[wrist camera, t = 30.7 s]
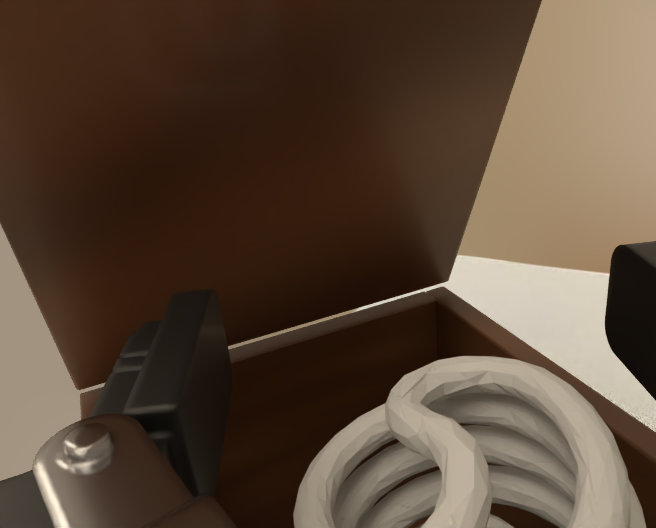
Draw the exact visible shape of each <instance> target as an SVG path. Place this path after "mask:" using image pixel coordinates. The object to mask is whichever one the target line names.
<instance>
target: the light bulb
mask: <svg viewBox="0 0 656 528" xmlns="http://www.w3.org/2000/svg"><path fill="white" fill-rule="evenodd" d="M458 423H464V424H478V425H470V426H460V425H459V424H458ZM481 425H489V426H481ZM394 439H397V440H399V441H400V442H398V443H396V444H394V445H391V446H389V447H387V448H385V449H384V450H382V451H381V452H379V453H378V454H376V455H375V456H373V457H372V458H371V459H369V460H368V461H366V462H365V463H364V464H362V465H361V466H359V467H358V468H357V469H356V470H355V471H354V472H353V473H352V474H351V475H350V473H351V472H352V471H353V470H354V469H355V468H356V467H357V465H358V464H359V463H360V462H361V461H362V460H363V459H365V458H366V457H367V456H369V455H370V454H371V453H373V452H374V451H375V450H377V449H378V448H379V447H381V446H382V445H384V444H386V443H388V442H390V441H392V440H394ZM487 463H493V464H499V465H504V466H492V465H488V464H487ZM437 466H439V468H440V470H437V471H434V472H432V473H429V474H426V475H423V476H420V477H417V478H415V479H413V480H411V481H410V482H408V483H406V484H404V485H402V486H401V487H399V488H397V489H395V490H394V491H392V492H390V493H389V494H387V495H386V496H385V497H384V498H383V499H382V500H381V501H380V502H379V503H377V504H376V505H375V506H374V504H375V503H376V502H377V501H378V499H379V498H380V497H382V496H383V495H384V494H385V493H387V492H388V491H389V490H391V489H392V488H393V487H395V486H396V485H397V484H399V483H400V482H401V481H403V480H405V479H406V478H408V477H410V476H412V475H415V474H417V473H420V472H423V471H426V470H428V469H431V468H434V467H437ZM509 466H510V467H509ZM513 467H514V468H513ZM349 475H350V476H349ZM348 476H349V477H348ZM347 477H348V478H347ZM346 478H347V479H346ZM345 479H346V480H345ZM491 503H498V504H503V505H509V506H514V507H518V508H520V509H523V510H526V511H529V512H532V513H534V514H536V515H538V516H539V517H541V518H543V519H545V520H547V521H549V522H551V523H553V524H554V525H556V526H558V527H559V528H646V524H645V519H644V515H643V511H642V507H641V505H640V502H639V500H638V497H637V495H636V493H635V490H634V488H633V486H632V485H631V483H630V481H629V479H628V471H627V469H626V466H625V464H624V461H623V459H622V456H621V454H620V451H619V449H618V446H617V444H616V441H615V439H614V436H613V434H612V432H611V431H610V429H609V428H608V427H607V425H606V424H605V422H604V421H603V419H602V418H601V417H600V415H599V414H598V412H597V411H596V410H595V408H594V407H593V406H592V405H591V404H590V403H589V402H588V401H587V400H586V399H585V398H584V397H583V396H582V395H581V394H580V393H579V392H578V391H576V390H575V389H574V388H573V387H572V386H571V385H570V384H568V383H567V382H565V381H563V380H562V379H560V378H559V377H557V376H556V375H554V374H552V373H551V372H549V371H548V370H546V369H545V368H542V367H539V366H536V365H533V364H530V363H526V362H523V361H520V360H516V359H509V358H501V357H493V356H460V357H453V358H447V359H441V360H437V361H435V362H433V363H430V364H428V365H426V366H424V367H422V368H419V369H417V370H415V371H413V372H411V373H408V374H406V375H404V376H403V377H402V379H401V380H400V381H399V382H398V383H397V384H396V385H395V386H394V387H393V388H392V389H391V392H390V394H389V396H388V399H387V401H386V403H385V404H383V405H381V406H379V407H377V408H375V409H373V410H371V411H369V412H367V413H365V414H363V415H361V416H359V417H358V418H357V419H355V420H354V421H353V422H352V423H350V424H349V425H348V426H346V427H345V428H344V429H342V430H341V431H340V432H338V433H337V434H336V435H335V436H334V437H333V438H332V439H331V440H330V441H329V442H328V443H327V444H326V445H325V447H324V448H323V449H322V450H321V451H320V452H319V453H318V454H317V456H316V457H315V458H314V460H313V461H312V462H311V463H310V465H309V467H308V470H307V472H306V474H305V476H304V478H303V480H302V482H301V484H300V486H299V490H298V494H297V499H296V504H295V508H294V513H293V518H294V528H408V527H410V526H411V525H412V524H414V523H415V522H416V521H418V520H420V519H423V518H425V517H427V516H429V515H431V514H432V515H431V516H430V517H429V518H428V520H427V521H426V522H425V523H423V524H421V525H419V526H417V527H416V528H514V527H513V526H511V525H510V524H508V523H507V522H505V521H504V520H502V519H501V518H499V517H497V516H495V515H492V514H490V510H491ZM373 506H374V507H373ZM372 507H373V508H372ZM371 508H372V509H371Z"/></svg>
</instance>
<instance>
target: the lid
mask: <svg viewBox="0 0 656 528" xmlns="http://www.w3.org/2000/svg"><path fill="white" fill-rule="evenodd" d="M541 1H542V0H0V224H1V226H2V228H3V230H4V232H5V234H6V237H7V239H8V241H9V243H10V245H11V248H12V250H13V252H14V254H15V256H16V259H17V261H18V263H19V265H20V267H21V269H22V272H23V273H24V276H25V278H26V280H27V282H28V285H29V287H30V289H31V291H32V293H33V295H34V297H35V300H36V302H37V304H38V306H39V308H40V311H41V313H42V315H43V317H44V319H45V321H46V324H47V326H48V328H49V330H50V332H51V335H52V336H53V339H54V341H55V343H56V345H57V347H58V349H59V352H60V354H61V356H62V358H63V361H64V363H65V365H66V367H67V369H68V371H69V374H70V376H71V378H72V380H73V382H74V385H75V387H76V388H77V389H78V390H81V389H85V388H88V387H91V386H95V385H98V384H101V383H105V382H106V381H107V379H108V377H109V375H110V374H111V373H113V371H112V369H113V367H114V365H115V363H116V361H117V359H120V353H121V351H122V349H123V347H124V345H125V343H126V341H127V339H128V338H129V337H130V336H131V335H132V334H133V333H135V332H136V331H137V330H138V329H139V328H140V327H142V326H143V325H144V324H145V323H146V322H150V321H159V320H162V318H163V316H164V313H165V311H166V308H167V306H168V304H169V301H170V299H171V297H172V295H173V293H178V292H187V291H196V290H205V289H214V290H215V291H216V293H217V296H218V300H219V305H220V310H221V315H222V320H223V325H224V330H225V335H226V340H227V345H228V346H230V345H233V344H237V343H241V342H244V341H247V340H250V339H254V338H257V337H261V336H264V335H268V334H271V333H274V332H277V331H281V330H284V329H287V328H291V327H295V326H298V325H301V324H304V323H308V322H312V321H315V320H318V319H322V318H325V317H329V316H332V315H335V314H338V313H342V312H345V311H349V310H352V309H356V308H359V307H362V306H366V305H369V304H373V303H376V302H379V301H383V300H386V299H390V298H393V297H396V296H400V295H403V294H406V293H410V292H413V291H417V290H420V289H423V288H427V287H430V286H434V285H437V284H440V283H444V282H447V281H448V280H449V277H450V274H451V271H452V268H453V265H454V262H455V259H456V256H457V253H458V250H459V247H460V244H461V241H462V238H463V235H464V232H465V229H466V226H467V223H468V220H469V217H470V214H471V211H472V208H473V205H474V202H475V199H476V196H477V193H478V190H479V187H480V184H481V181H482V178H483V175H484V172H485V169H486V166H487V163H488V160H489V157H490V154H491V151H492V148H493V145H494V142H495V139H496V136H497V133H498V130H499V127H500V124H501V121H502V118H503V115H504V112H505V109H506V106H507V103H508V100H509V97H510V94H511V91H512V88H513V85H514V82H515V79H516V76H517V73H518V70H519V67H520V64H521V61H522V58H523V55H524V52H525V49H526V46H527V43H528V40H529V37H530V34H531V31H532V28H533V25H534V22H535V19H536V16H537V13H538V10H539V7H540V4H541Z"/></svg>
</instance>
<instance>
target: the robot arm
mask: <svg viewBox="0 0 656 528" xmlns="http://www.w3.org/2000/svg"><path fill="white" fill-rule="evenodd" d="M605 330H606V336H607V340H608V342H609V345H610V347H611V349H612V351H613V352H614V354H615V355H616V356H617V357H618V358H619V359H620V361H621V362H622V363H623V364H624V365H625V366H626V367H627V368H628V370H629V371H630V372H631V373H632V374H633V375H634V376H635V378H636V379H637V380H638V381H639V382H640V383H641V384H642V385H643V387H644V388H645V389H646V390H647V391H648V392H649V393H650V394H651V396H652V397H653V398H654V399H655V400H656V241H654V242H644V243H635V244H626V245H619V246H618V247H616V249H615V250H614V252H613V255H612V259H611V267H610V277H609V286H608V296H607V305H606V315H605ZM112 371H113V373H111V374H110V375H109V377H108V379H107V381H106V383H105V385H104V387H103V389H102V391H101V393H100V395H99V397H98V399H97V401H96V403H95V405H94V407H93V409H92V411H91V413H90V415H89V417H88V418H86V419H83V420H81V421H78V422H75V423H74V424H71V425H69V426H67V427H66V428H64V429H62V430H61V431H59V432H58V433H56V434H55V435H54V436H52V437H51V438H50V439H49V440H48V441H47V442H46V443H45V444H44V445H43V446H42V447H41V448H40V450H39V451H38V453H37V454H36V456H35V459H34V461H33V470H31V471H29V472H26V473H23V474H20V475H18V476H14V477H11V478H8V479H5V480H2V481H0V528H237V527H236V525H235V524H234V523H233V522H232V520H231V519H230V518H229V516H228V515H227V514H226V512H225V511H224V510H223V509H222V507H221V506H220V505H219V503H218V502H217V501H216V500H215V499H214V497H215V491H216V485H217V479H218V473H219V468H220V462H221V456H222V450H223V444H224V438H225V432H226V426H227V420H228V414H229V408H230V402H231V396H232V368H231V361H230V355H229V350H228V345H227V340H226V335H225V330H224V325H223V320H222V315H221V310H220V305H219V300H218V296H217V293H216V291H215V290H214V289H205V290H196V291H187V292H178V293H173V295H172V297H171V299H170V301H169V304H168V306H167V308H166V311H165V313H164V316H163V318H162V320H159V321H150V322H146V323H145V324H144V325H143V326H142V327H140V328H139V329H138V330H137V331H136V332H135V333H133V334H132V335H131V336H130V337H129V338H128V339H127V341H126V343H125V345H124V347H123V349H122V351H121V353H120V359H117V361H116V363H115V365H114V367H113V369H112Z"/></svg>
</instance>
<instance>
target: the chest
mask: <svg viewBox="0 0 656 528" xmlns="http://www.w3.org/2000/svg"><path fill="white" fill-rule="evenodd" d="M229 355H230V361H231V368H232V396H231V402H230V408H229V414H228V420H227V426H226V432H225V438H224V444H223V450H222V456H221V462H220V468H219V473H218V479H217V485H216V491H215V497H214V499H215V500H216V501H217V502H218V503H219V505H220V506H221V507H222V509H223V510H224V511H225V512H226V514H227V515H228V516H229V518H230V519H231V520H232V522H233V523H234V524H235V525H236V527H237V528H294V518H293V513H294V508H295V504H296V499H297V494H298V490H299V486H300V484H301V482H302V480H303V478H304V476H305V474H306V472H307V470H308V467H309V465H310V463H311V462H312V461H313V460H314V458H315V457H316V456H317V454H318V453H319V452H320V451H321V450H322V449H323V448H324V447H325V445H326V444H327V443H328V442H329V441H330V440H331V439H332V438H333V437H334V436H335V435H336V434H337V433H338V432H340V431H341V430H342V429H344V428H345V427H346V426H348V425H349V424H350V423H352V422H353V421H354V420H355V419H357V418H358V417H359V416H361V415H363V414H365V413H367V412H369V411H371V410H373V409H375V408H377V407H379V406H381V405H383V404H385V403H386V401H387V399H388V396H389V394H390V392H391V389H392V388H393V387H394V386H395V385H396V384H397V383H398V382H399V381H400V380H401V379H402V377H403V376H404V375H406V374H408V373H411V372H413V371H415V370H417V369H419V368H422V367H424V366H426V365H428V364H430V363H433V362H435V361H437V360H441V359H447V358H453V357H460V356H493V357H501V358H509V359H516V360H520V361H523V362H526V363H530V364H533V365H536V366H539V367H542V368H545V369H546V370H548V371H549V372H551V373H552V374H554V375H556V376H557V377H559V378H560V379H562V380H563V381H565V382H567V383H568V384H570V385H571V386H572V387H573V388H574V389H575V390H576V391H578V392H579V393H580V394H581V395H582V396H583V397H584V398H585V399H586V400H587V401H588V402H589V403H590V404H591V405H592V406H593V407H594V408H595V410H596V411H597V412H598V414H599V415H600V417H601V418H602V419H603V421H604V422H605V424H606V425H607V427H608V428H609V429H610V431H611V432H612V434H613V436H614V439H615V441H616V444H617V446H618V449H619V451H620V454H621V456H622V459H623V461H624V464H625V466H626V469H627V471H628V479H629V481H630V483H631V485H632V486H633V488H634V490H635V493H636V495H637V497H638V500H639V502H640V505H641V507H642V511H643V515H644V519H645V524H646V528H656V432H654V431H653V430H651V429H650V428H648V427H647V426H645V425H644V424H643V423H641V422H640V421H638V420H637V419H635V418H634V417H632V416H631V415H629V414H628V413H627V412H625V411H624V410H622V409H621V408H619V407H618V406H616V405H615V404H613V403H612V402H611V401H609V400H608V399H606V398H605V397H603V396H602V395H600V394H599V393H598V392H596V391H595V390H593V389H592V388H590V387H589V386H587V385H586V384H584V383H583V382H582V381H580V380H579V379H577V378H576V377H574V376H573V375H571V374H570V373H568V372H567V371H566V370H564V369H563V368H561V367H560V366H558V365H557V364H555V363H554V362H553V361H551V360H550V359H548V358H547V357H545V356H544V355H542V354H541V353H539V352H538V351H537V350H535V349H534V348H532V347H531V346H529V345H528V344H526V343H525V342H523V341H522V340H521V339H519V338H518V337H516V336H515V335H513V334H512V333H510V332H509V331H507V330H506V329H505V328H503V327H502V326H500V325H499V324H497V323H496V322H494V321H493V320H492V319H490V318H489V317H487V316H486V315H484V314H483V313H481V312H480V311H478V310H477V309H476V308H474V307H473V306H471V305H470V304H468V303H467V302H465V301H464V300H462V299H461V298H460V297H458V296H457V295H455V294H454V293H452V292H451V291H449V290H448V289H447V288H445V287H439V288H436V289H433V290H429V291H427V292H421V293H418V294H414V295H411V296H408V297H404V298H401V299H397V300H394V301H391V302H387V303H384V304H381V305H377V306H374V307H371V308H367V309H364V310H360V311H357V312H354V313H350V314H347V315H344V316H340V317H337V318H334V319H330V320H327V321H324V322H320V323H317V324H313V325H310V326H307V327H303V328H300V329H297V330H293V331H290V332H286V333H283V334H280V335H277V336H273V337H270V338H267V339H263V340H260V341H256V342H253V343H250V344H246V345H243V346H240V347H236V348H233V349H229ZM102 389H103V387H102V388H98V389H95V390H91V391H88V392H85V393H81V394H80V405H81V420H83V419H86V418H88V417H89V415H90V413H91V411H92V409H93V407H94V405H95V403H96V401H97V399H98V397H99V395H100V393H101V391H102ZM458 424H459V425H460V426H470V425H478V424H464V423H458ZM481 426H489V425H481ZM398 442H400V441H399V440H397V439H394V440H392V441H390V442H388V443H386V444H384V445H382V446H381V447H379V448H378V449H377V450H375V451H374V452H373V453H371V454H370V455H369V456H367V457H366V458H365V459H363V460H362V461H361V462H360V463H359V464H358V465H357V467H356V468H355V469H354V470H353V471H352V472H351V473H350V475H351V474H352V473H353V472H354V471H355V470H356V469H357V468H358V467H359V466H361V465H362V464H364V463H365V462H366V461H368V460H369V459H371V458H372V457H373V456H375V455H376V454H378V453H379V452H381V451H382V450H384V449H385V448H387V447H389V446H391V445H394V444H396V443H398ZM487 464H488V465H492V466H504V465H499V464H493V463H487ZM509 467H510V466H509ZM513 468H514V467H513ZM437 470H440V468H439V466H437V467H434V468H431V469H428V470H426V471H423V472H420V473H417V474H415V475H412V476H410V477H408V478H406V479H405V480H403V481H401V482H400V483H399V484H397V485H396V486H395V487H393V488H392V489H391V490H389V491H388V492H387V493H385V494H384V495H383V496H382V497H380V498H379V499H378V501H377V502H376V503H375V504H374V506H375V505H376V504H377V503H379V502H380V501H381V500H382V499H383V498H384V497H385V496H386V495H387V494H389V493H390V492H392V491H394V490H395V489H397V488H399V487H401V486H402V485H404V484H406V483H408V482H410V481H411V480H413V479H415V478H417V477H420V476H423V475H426V474H429V473H432V472H434V471H437ZM350 475H349V476H350ZM349 476H348V477H349ZM348 477H347V478H348ZM347 478H346V479H347ZM346 479H345V480H346ZM374 506H373V507H374ZM373 507H372V508H373ZM372 508H371V509H372ZM490 514H492V515H495V516H497V517H499V518H501V519H502V520H504V521H505V522H507V523H508V524H510V525H511V526H513V527H514V528H559V527H558V526H556V525H554V524H553V523H551V522H549V521H547V520H545V519H543V518H541V517H539V516H538V515H536V514H534V513H532V512H529V511H526V510H523V509H520V508H518V507H514V506H509V505H503V504H498V503H491V510H490ZM431 515H432V514H431ZM431 515H429V516H427V517H425V518H423V519H420V520H418V521H416V522H415V523H414V524H412V525H411V526H410V527H408V528H416V527H417V526H419V525H421V524H423V523H425V522H426V521H427V520H428V518H429V517H430V516H431Z"/></svg>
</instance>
